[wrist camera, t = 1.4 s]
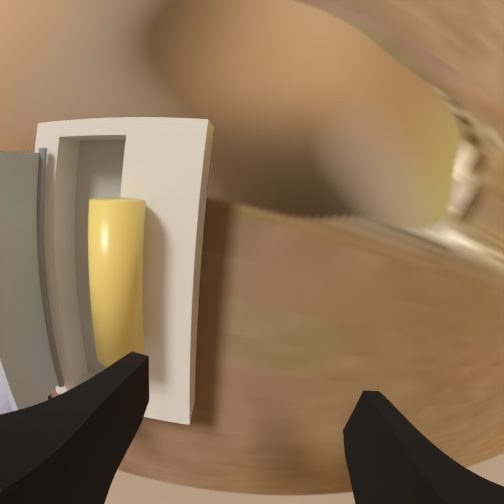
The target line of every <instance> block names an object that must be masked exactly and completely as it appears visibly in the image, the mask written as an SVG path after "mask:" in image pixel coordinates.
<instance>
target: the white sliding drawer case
mask: <svg viewBox="0 0 504 504" xmlns="http://www.w3.org/2000/svg"><path fill="white" fill-rule="evenodd" d="M213 136H214V127H213V126H212V124H211V123H210V121H209V120H207V119H190V118H188V119H187V118H159V117H156V118H155V117H126V118H96V119H79V120H66V121H56V122H46V123H38V129H37V137H36V145H35V153H38V149H39V148H47V159H46V171H45V189H44V247H45V265H46V277H47V288H48V297H49V305H50V312H51V319H52V326H53V332H54V337H55V343H56V348H57V353H58V358H59V363H60V367H61V371H62V376H63V380H64V384H65V385H64V386H63V387H59V386H58V385H57V386H56V391H57V393H59V394H62V393H64V392H66V391H68V390H70V389H72V388H74V387H76V386H78V385H79V384H81V383H83V382H85V381H86V380H88V379H90V378H91V377H93V376H95V375H96V374H98V373H99V372H101V371H103V370H104V369H106V368H107V367H106V366H104V365H102V364H101V363H100V362H99V361H98V359H97V355H96V348H95V340H94V332H93V323H92V312H91V300H90V285H89V262H88V213H89V199H92V198H105V197H118V198H134V199H142V200H145V201H146V207H145V225H144V250H143V322H144V346H145V355H147V356H149V403H148V405H147V408H146V411H145V414H144V417H147V418H152V419H158V420H163V421H169V422H175V423H181V424H187V425H190V421H191V416H192V412H193V407H194V402H195V379H196V348H197V325H198V305H199V288H200V273H201V259H202V246H203V233H204V222H205V211H206V200H207V189H208V179H209V169H210V161H211V153H212V144H213Z"/></svg>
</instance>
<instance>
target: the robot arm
mask: <svg viewBox="0 0 504 504" xmlns="http://www.w3.org/2000/svg"><path fill="white" fill-rule="evenodd" d="M148 403H149V356H147V355H143V354H139V353H136V352H130V353H129V354H127V355H126V356H124V357H122V358H121V359H119V360H118V361H116V362H115V363H113V364H112V365H110V366H109V367H107V368H106V369H104V370H103V371H101V372H99V373H98V374H96V375H95V376H93V377H91V378H90V379H88V380H86V381H85V382H83V383H81V384H79V385H78V386H76V387H74V388H72V389H70V390H68V391H66V392H64V393H62V394H60V395H58V396H56V397H54V398H51V399H49V400H48V398H47V399H46V400H45V401H44V402H41V403H39V404H36V405H33V406H30V407H27V408H23V409H20V410H16V411H13V409H12V406H11V404H10V402H9V399H8V396H7V394H6V391H5V388H4V386H3V383H2V380H1V377H0V504H104V503H105V500H106V496H107V494H108V491H109V488H110V485H111V483H112V480H113V478H114V475H115V473H116V471H117V469H118V467H119V465H120V463H121V461H122V459H123V457H124V455H125V453H126V451H127V450H128V448H129V446H130V444H131V442H132V440H133V438H134V436H135V434H136V432H137V430H138V428H139V426H140V424H141V422H142V419H143V417H144V414H145V411H146V408H147V405H148ZM343 434H344V448H345V457H346V461H347V466H348V471H349V475H350V480H351V485H352V489H353V494H354V499H355V504H504V487H503V486H501V485H498V484H496V483H493V482H491V481H489V480H487V479H484V478H482V477H480V476H479V475H477V474H475V473H473V472H471V471H470V470H468V469H466V468H465V467H463V466H461V465H460V464H458V463H457V462H456V461H454V460H453V459H451V458H450V457H449V456H447V455H446V454H445V453H443V452H442V451H441V450H439V449H438V448H437V447H436V446H435V445H434V444H432V443H431V442H430V441H429V440H428V439H427V438H426V437H425V436H424V435H422V434H421V433H420V432H419V431H418V430H417V429H416V428H415V427H414V426H413V425H412V424H411V423H410V422H409V421H408V420H407V419H406V418H405V417H404V416H403V415H402V414H401V413H400V412H399V411H398V410H397V409H396V408H395V406H394V405H393V404H392V403H391V402H390V401H389V400H388V399H387V398H386V397H385V396H384V395H382V394H381V393H380V392H379V391H363V392H362V395H361V397H360V399H359V401H358V403H357V405H356V407H355V409H354V411H353V412H352V414H351V416H350V418H349V420H348V422H347V424H346V426H345V428H344V429H343Z"/></svg>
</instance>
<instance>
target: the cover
mask: <svg viewBox="0 0 504 504" xmlns="http://www.w3.org/2000/svg"><path fill="white" fill-rule="evenodd" d="M46 159H47V148H39V149H38V153H32V152H10V151H0V377H1V380H2V383H3V386H4V388H5V391H6V394H7V396H8V399H9V402H10V404H11V406H12V409H13V411H16V410H20V409H23V408H27V407H30V406H33V405H36V404H39V403H41V402H44V401H45V400H46V399H47V398H48V396H49V395H50V394H51V393H52V391H53V390H54V389H55V388H56V386H57V385H58V386H59V387H63V386H64V385H65V384H64V380H63V376H62V371H61V367H60V363H59V358H58V353H57V348H56V343H55V337H54V332H53V326H52V319H51V312H50V305H49V297H48V288H47V277H46V265H45V247H44V189H45V171H46Z"/></svg>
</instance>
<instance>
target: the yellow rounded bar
mask: <svg viewBox="0 0 504 504" xmlns="http://www.w3.org/2000/svg"><path fill="white" fill-rule="evenodd" d="M145 207H146V201H145V200H142V199H134V198H118V197H105V198H92V199H89V213H88V262H89V285H90V300H91V312H92V323H93V332H94V340H95V348H96V355H97V359H98V361H99V362H100V363H101V364H102V365H104V366H106V367H109V366H110V365H112V364H113V363H115V362H116V361H118V360H119V359H121V358H122V357H124V356H126V355H127V354H129V353H130V352H136V353H139V354H143V355H145V346H144V322H143V250H144V225H145Z"/></svg>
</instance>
